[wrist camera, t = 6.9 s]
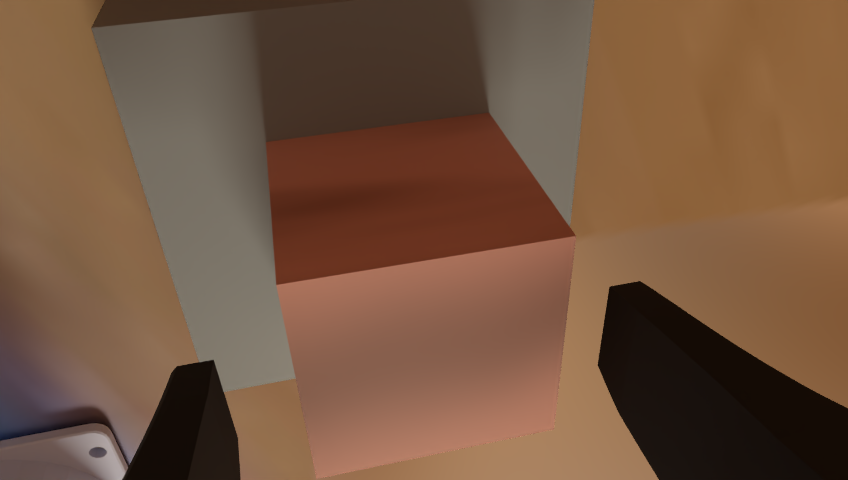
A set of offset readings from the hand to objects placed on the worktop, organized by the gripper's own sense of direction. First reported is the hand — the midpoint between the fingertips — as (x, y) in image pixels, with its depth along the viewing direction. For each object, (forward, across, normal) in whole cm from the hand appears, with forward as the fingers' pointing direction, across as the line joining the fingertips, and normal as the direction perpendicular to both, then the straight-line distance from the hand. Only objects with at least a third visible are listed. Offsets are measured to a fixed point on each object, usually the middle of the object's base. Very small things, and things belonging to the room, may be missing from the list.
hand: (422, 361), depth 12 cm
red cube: (+5, 0, 0) cm, 5 cm away
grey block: (+8, 0, 0) cm, 9 cm away
